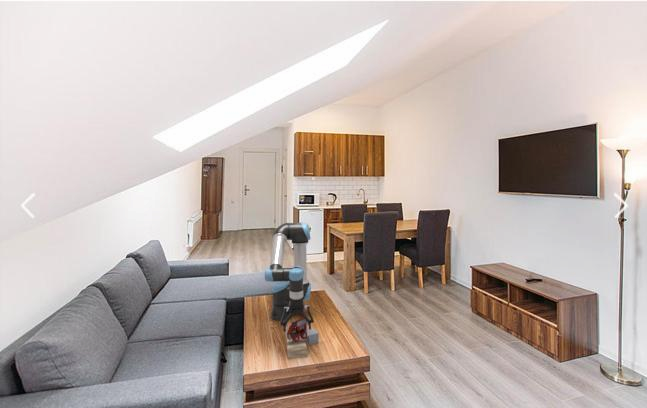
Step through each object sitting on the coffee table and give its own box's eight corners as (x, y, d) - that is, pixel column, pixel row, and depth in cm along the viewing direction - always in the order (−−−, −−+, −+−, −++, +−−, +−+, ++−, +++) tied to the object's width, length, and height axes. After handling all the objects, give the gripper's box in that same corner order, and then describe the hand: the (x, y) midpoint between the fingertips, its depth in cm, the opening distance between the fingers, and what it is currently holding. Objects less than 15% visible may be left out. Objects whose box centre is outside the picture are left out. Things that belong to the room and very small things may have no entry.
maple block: (286, 344, 176) (286, 335, 176) (304, 342, 178) (303, 334, 177) (288, 359, 161) (287, 350, 161) (306, 357, 163) (306, 348, 162)
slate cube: (305, 340, 179) (305, 330, 179) (314, 338, 182) (314, 328, 181) (309, 345, 174) (308, 335, 174) (318, 342, 177) (318, 332, 176)
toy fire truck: (284, 339, 169) (283, 321, 168) (303, 332, 176) (302, 314, 175) (290, 344, 163) (290, 325, 162) (310, 337, 170) (309, 319, 170)
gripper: (274, 301, 161) (275, 341, 163) (318, 298, 166) (319, 337, 167) (274, 296, 169) (275, 334, 171) (316, 293, 173) (317, 330, 175)
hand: (297, 335), depth 169 cm, fingers closed on toy fire truck, 11 cm apart
